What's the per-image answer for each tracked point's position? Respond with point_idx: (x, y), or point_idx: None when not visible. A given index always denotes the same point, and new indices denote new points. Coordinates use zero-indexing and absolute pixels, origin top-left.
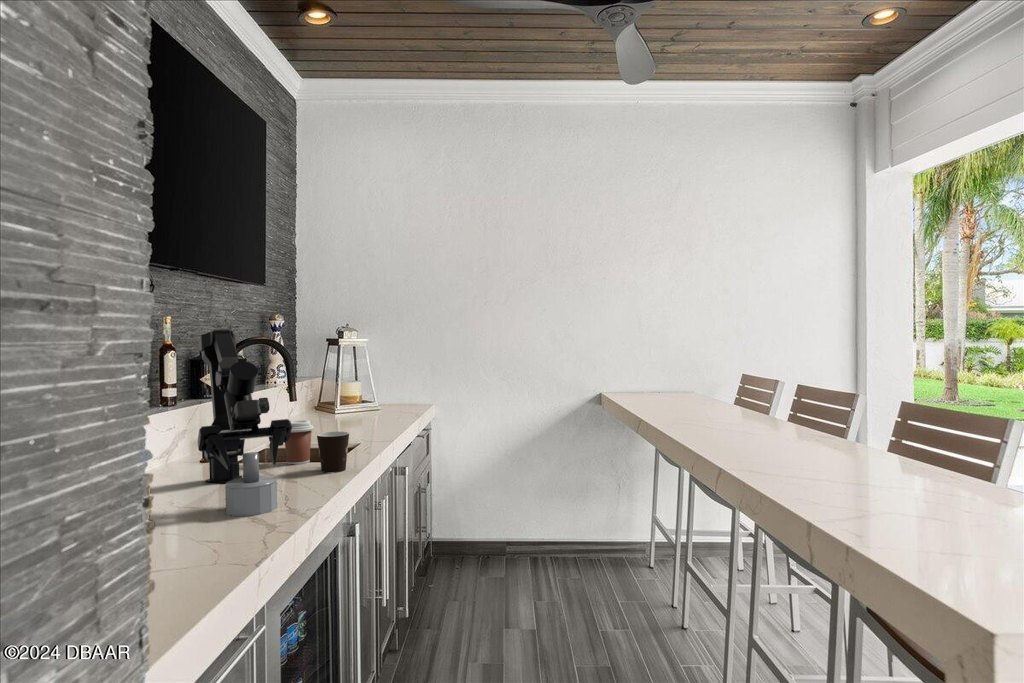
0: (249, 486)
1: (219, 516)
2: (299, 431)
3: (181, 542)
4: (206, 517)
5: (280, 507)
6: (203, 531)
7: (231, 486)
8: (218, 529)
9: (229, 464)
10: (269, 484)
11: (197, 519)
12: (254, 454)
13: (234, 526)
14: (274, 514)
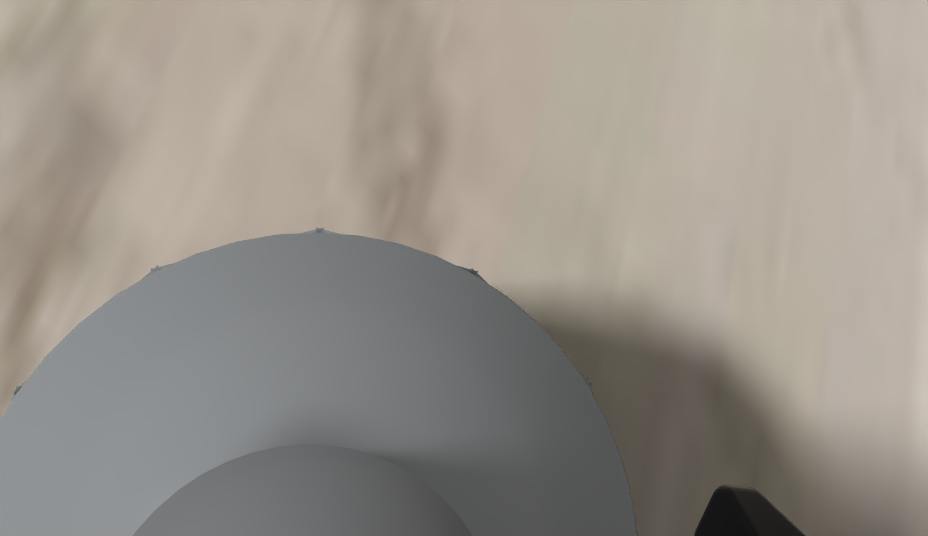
0: (431, 266)
1: None
2: None
3: (919, 17)
4: None
5: None
6: (781, 147)
7: (602, 435)
8: (690, 119)
9: (746, 513)
10: (171, 267)
11: None
12: (266, 451)
13: (584, 108)
14: (229, 202)
